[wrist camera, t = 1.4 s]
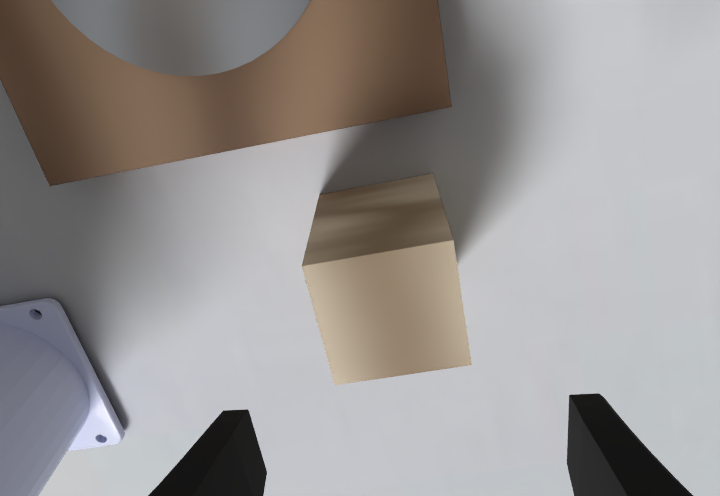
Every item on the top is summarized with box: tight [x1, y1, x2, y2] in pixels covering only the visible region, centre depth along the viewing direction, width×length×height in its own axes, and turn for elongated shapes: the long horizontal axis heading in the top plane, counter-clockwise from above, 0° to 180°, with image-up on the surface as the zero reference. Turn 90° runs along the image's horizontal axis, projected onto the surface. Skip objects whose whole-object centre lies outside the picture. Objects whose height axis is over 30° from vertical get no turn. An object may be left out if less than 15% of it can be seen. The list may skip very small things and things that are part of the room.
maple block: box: [302, 174, 471, 385], centre depth 20 cm, size 4×4×6 cm
